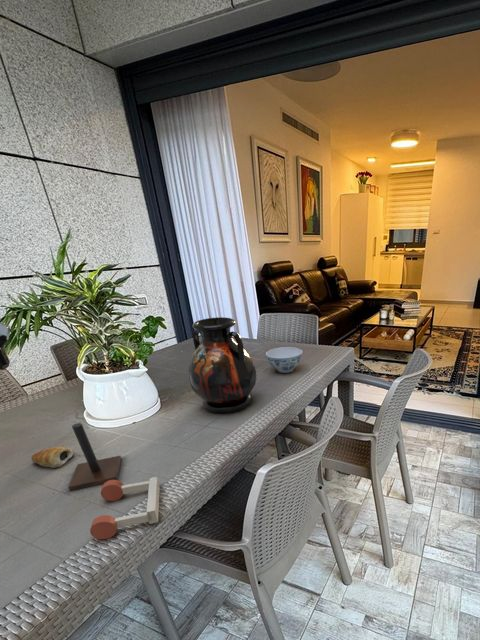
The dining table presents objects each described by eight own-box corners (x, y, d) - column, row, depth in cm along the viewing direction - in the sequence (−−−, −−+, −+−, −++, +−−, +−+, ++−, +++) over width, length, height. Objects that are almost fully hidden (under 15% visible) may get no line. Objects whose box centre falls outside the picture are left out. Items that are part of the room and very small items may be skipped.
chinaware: (302, 376, 142) (300, 357, 138) (265, 377, 142) (263, 358, 139) (304, 363, 155) (303, 346, 151) (270, 364, 155) (268, 347, 152)
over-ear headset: (87, 524, 66) (154, 511, 70) (99, 481, 77) (156, 472, 81) (93, 541, 68) (158, 527, 72) (104, 497, 80) (160, 487, 83)
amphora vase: (182, 411, 117) (160, 326, 103) (224, 388, 134) (210, 312, 120) (233, 423, 108) (217, 332, 95) (271, 396, 125) (262, 316, 112)
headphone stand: (70, 491, 82) (45, 440, 75) (79, 467, 90) (57, 419, 84) (117, 480, 85) (97, 430, 78) (122, 459, 93) (104, 412, 86)
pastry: (26, 467, 91) (20, 455, 89) (47, 453, 97) (41, 441, 95) (59, 469, 90) (53, 456, 88) (77, 454, 96) (72, 442, 94)
